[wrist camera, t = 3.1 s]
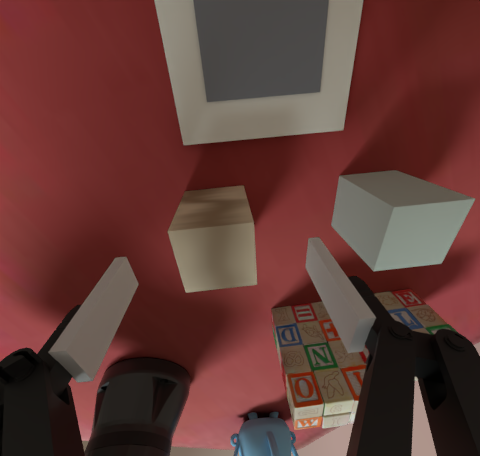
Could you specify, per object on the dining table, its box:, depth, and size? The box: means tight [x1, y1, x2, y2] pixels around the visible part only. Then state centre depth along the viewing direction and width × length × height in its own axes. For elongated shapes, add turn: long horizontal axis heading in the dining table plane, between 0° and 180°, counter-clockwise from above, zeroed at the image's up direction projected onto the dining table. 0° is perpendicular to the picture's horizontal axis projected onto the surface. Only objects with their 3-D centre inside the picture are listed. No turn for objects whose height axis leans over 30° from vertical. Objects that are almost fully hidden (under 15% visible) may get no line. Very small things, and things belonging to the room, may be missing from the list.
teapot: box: [231, 412, 298, 456], centre depth 47 cm, size 13×14×11 cm
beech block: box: [168, 185, 257, 293], centre depth 20 cm, size 6×6×8 cm
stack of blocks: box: [271, 289, 458, 430], centre depth 28 cm, size 21×6×12 cm, turn 98°
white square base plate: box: [154, 0, 363, 145], centre depth 15 cm, size 14×15×1 cm
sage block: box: [331, 170, 475, 271], centre depth 20 cm, size 6×6×8 cm
